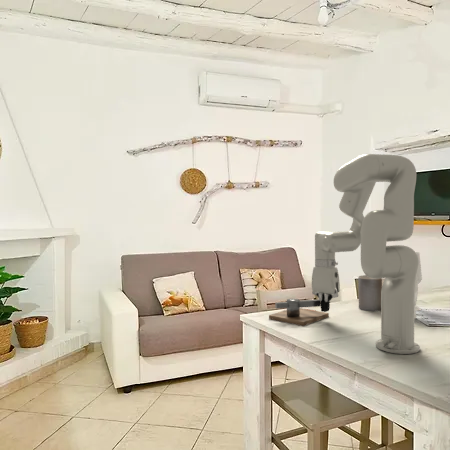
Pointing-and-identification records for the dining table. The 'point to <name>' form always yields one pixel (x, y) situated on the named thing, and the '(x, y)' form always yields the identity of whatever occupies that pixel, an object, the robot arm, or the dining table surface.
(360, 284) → the pillar candle
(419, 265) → the champagne flute
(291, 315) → the capstan
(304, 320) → the dial stand
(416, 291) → the beer glass
